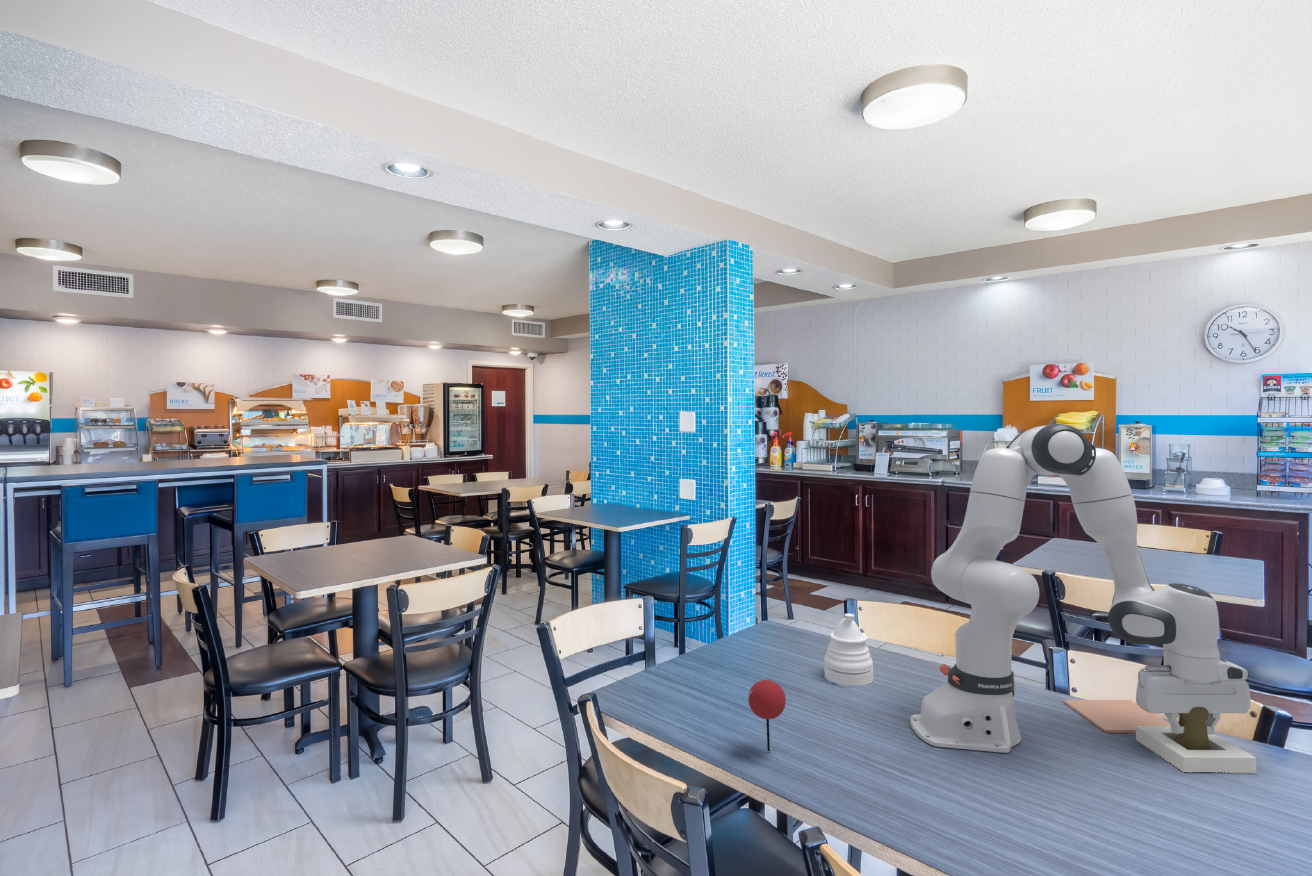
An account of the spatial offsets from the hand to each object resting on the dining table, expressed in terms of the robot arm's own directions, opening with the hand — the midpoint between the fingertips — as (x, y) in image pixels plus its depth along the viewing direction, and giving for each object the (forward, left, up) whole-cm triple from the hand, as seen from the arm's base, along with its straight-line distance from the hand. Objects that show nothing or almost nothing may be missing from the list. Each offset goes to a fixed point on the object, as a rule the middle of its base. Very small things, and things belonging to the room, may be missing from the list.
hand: (1192, 733), depth 130 cm
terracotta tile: (-3, +18, -5) cm, 19 cm away
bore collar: (0, 0, -5) cm, 5 cm away
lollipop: (-86, +1, -5) cm, 86 cm away
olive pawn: (0, 0, -5) cm, 5 cm away
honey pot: (-59, +42, -5) cm, 73 cm away
